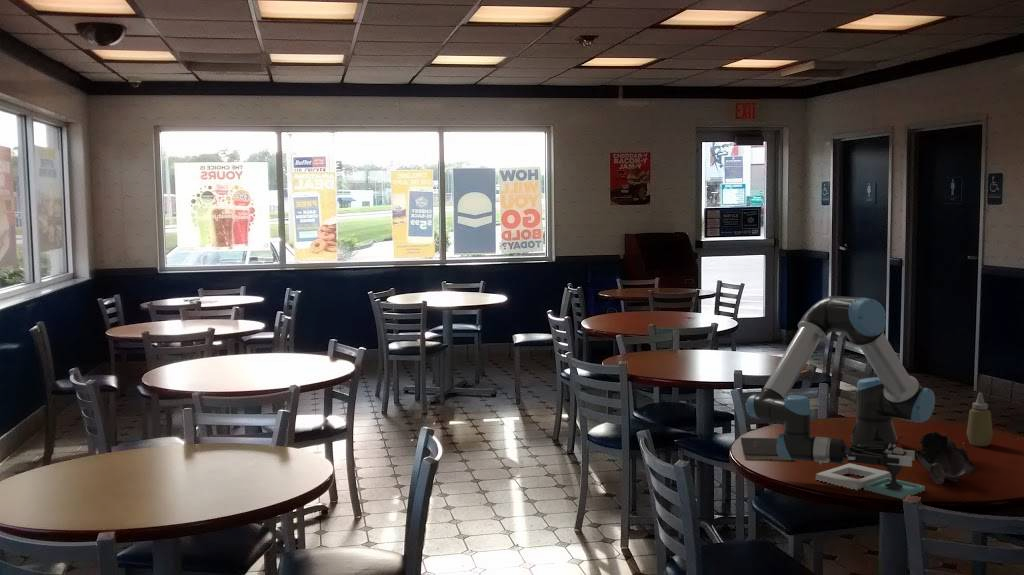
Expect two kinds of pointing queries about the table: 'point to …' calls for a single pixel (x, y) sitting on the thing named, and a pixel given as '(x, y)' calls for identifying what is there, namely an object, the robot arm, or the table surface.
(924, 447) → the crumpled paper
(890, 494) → the tray
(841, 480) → the board
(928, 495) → the table surface
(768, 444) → the hardcover book
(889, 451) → the sundae
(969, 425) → the squeeze bottle
